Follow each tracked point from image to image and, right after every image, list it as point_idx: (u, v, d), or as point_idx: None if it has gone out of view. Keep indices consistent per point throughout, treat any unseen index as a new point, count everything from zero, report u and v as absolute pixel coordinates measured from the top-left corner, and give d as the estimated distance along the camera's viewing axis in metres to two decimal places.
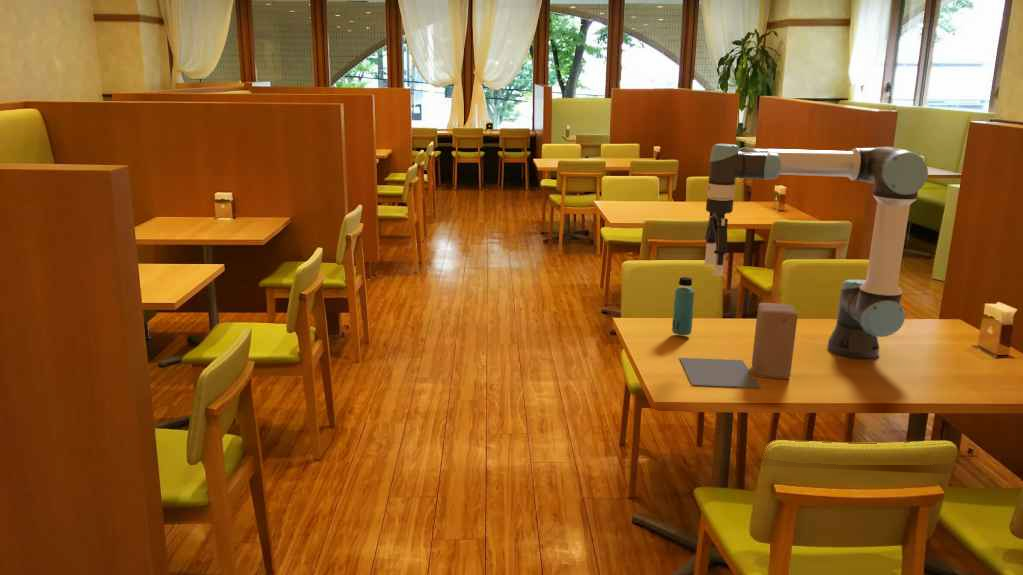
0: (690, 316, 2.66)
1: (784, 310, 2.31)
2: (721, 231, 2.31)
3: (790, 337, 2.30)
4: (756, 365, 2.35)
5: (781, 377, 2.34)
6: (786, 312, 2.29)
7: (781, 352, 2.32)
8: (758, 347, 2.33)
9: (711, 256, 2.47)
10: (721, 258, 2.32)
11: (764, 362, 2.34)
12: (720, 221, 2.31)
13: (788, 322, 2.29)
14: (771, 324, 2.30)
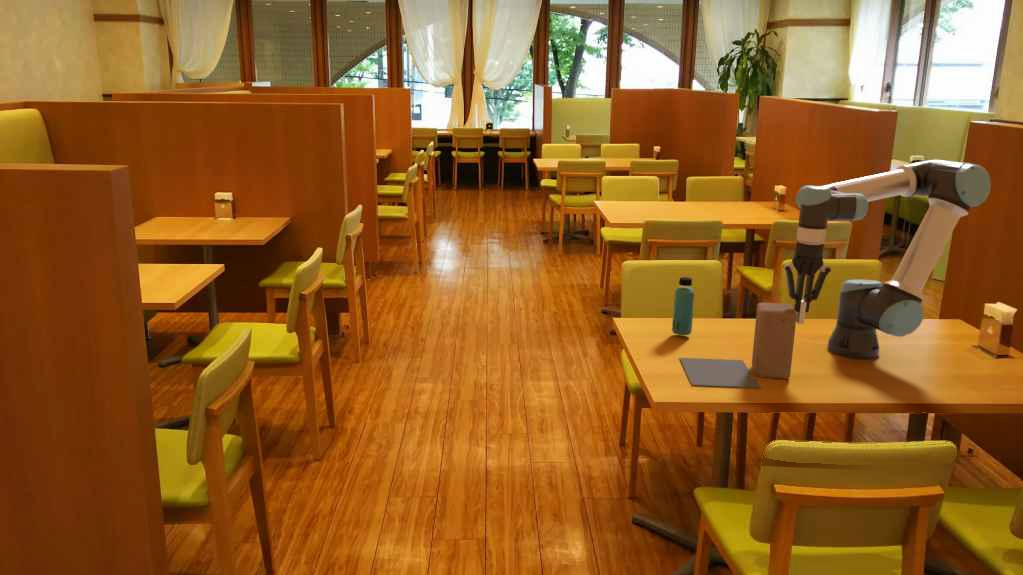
0: (690, 316, 2.66)
1: (783, 309, 2.31)
2: (787, 278, 2.32)
3: (789, 337, 2.30)
4: (756, 365, 2.35)
5: (781, 377, 2.34)
6: (785, 312, 2.29)
7: (780, 351, 2.32)
8: (758, 347, 2.33)
9: None
10: (795, 304, 2.33)
11: (763, 362, 2.34)
12: (784, 268, 2.32)
13: (787, 321, 2.29)
14: (770, 324, 2.30)
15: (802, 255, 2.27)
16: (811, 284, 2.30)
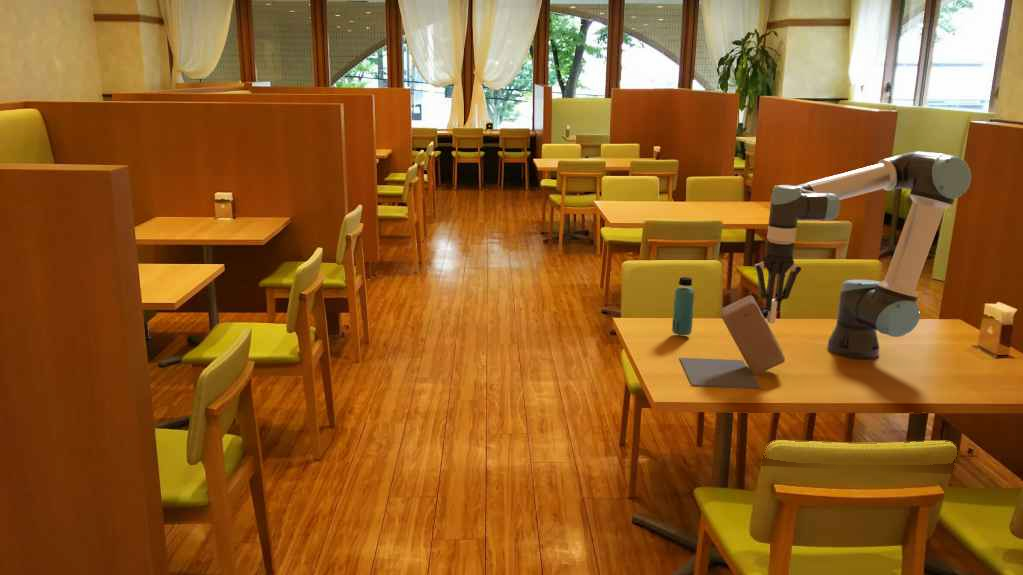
0: (690, 316, 2.66)
1: (742, 305, 2.33)
2: (758, 277, 2.32)
3: (760, 326, 2.31)
4: (749, 365, 2.35)
5: (777, 364, 2.33)
6: (743, 307, 2.31)
7: (762, 342, 2.32)
8: (740, 349, 2.34)
9: None
10: (766, 303, 2.33)
11: (753, 360, 2.34)
12: (755, 267, 2.32)
13: (750, 313, 2.31)
14: (737, 324, 2.32)
15: (772, 254, 2.27)
16: (782, 283, 2.31)
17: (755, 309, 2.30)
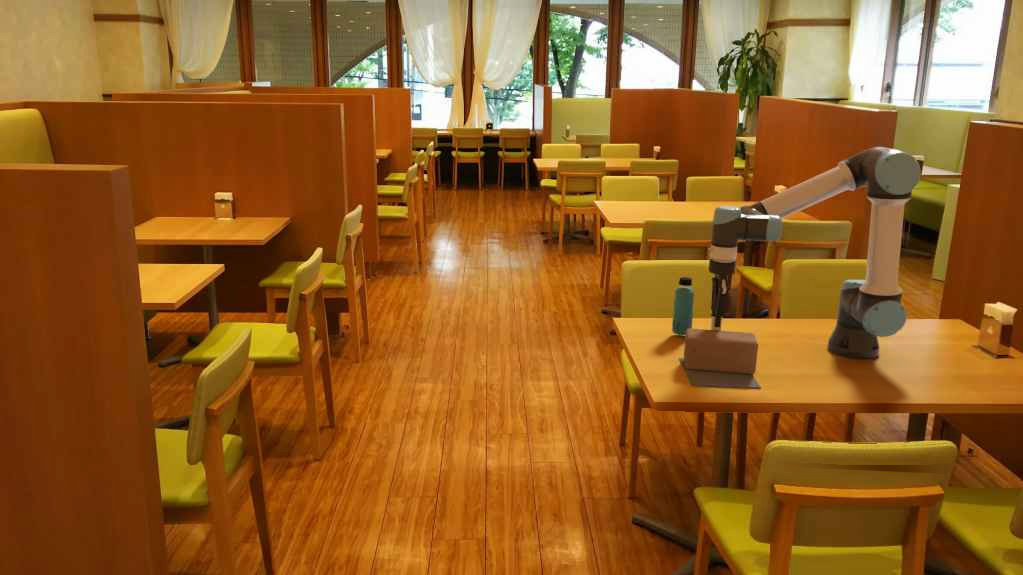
0: (690, 316, 2.66)
1: None
2: (721, 299, 2.37)
3: (712, 344, 2.35)
4: (742, 373, 2.36)
5: (755, 350, 2.33)
6: (687, 347, 2.37)
7: (728, 351, 2.35)
8: (723, 371, 2.37)
9: None
10: (718, 321, 2.42)
11: (739, 366, 2.35)
12: (721, 291, 2.35)
13: (696, 345, 2.36)
14: (698, 360, 2.37)
15: (732, 273, 2.37)
16: None
17: (694, 339, 2.36)
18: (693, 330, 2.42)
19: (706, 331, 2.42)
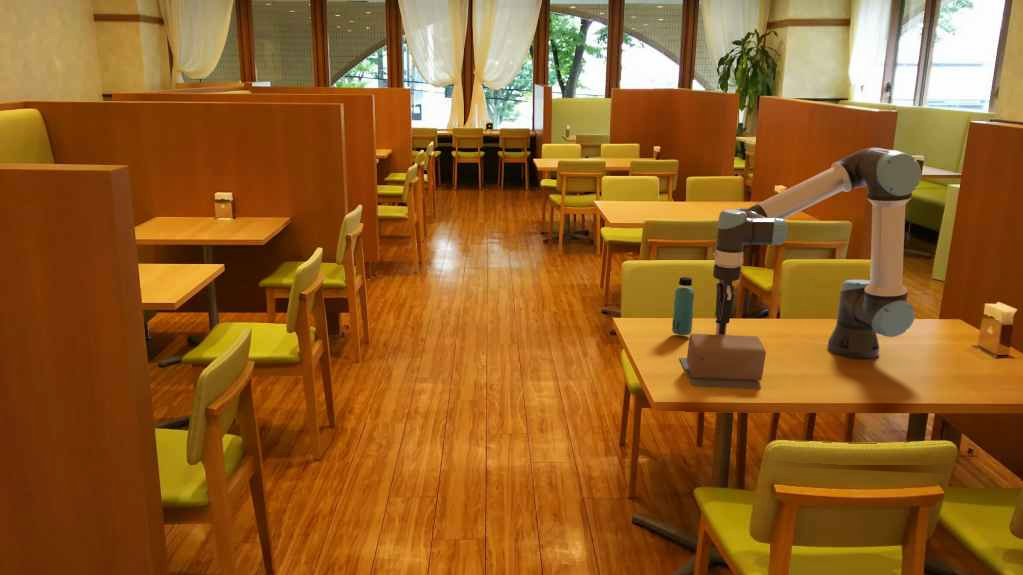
0: (690, 316, 2.66)
1: (692, 354, 2.31)
2: (725, 305, 2.30)
3: (719, 353, 2.28)
4: (749, 379, 2.31)
5: (763, 358, 2.28)
6: (694, 357, 2.29)
7: (735, 359, 2.28)
8: (730, 379, 2.31)
9: None
10: (723, 328, 2.35)
11: (746, 374, 2.30)
12: (726, 297, 2.29)
13: (703, 355, 2.28)
14: (705, 369, 2.30)
15: (737, 278, 2.31)
16: None
17: (702, 349, 2.28)
18: (698, 336, 2.34)
19: (711, 337, 2.34)
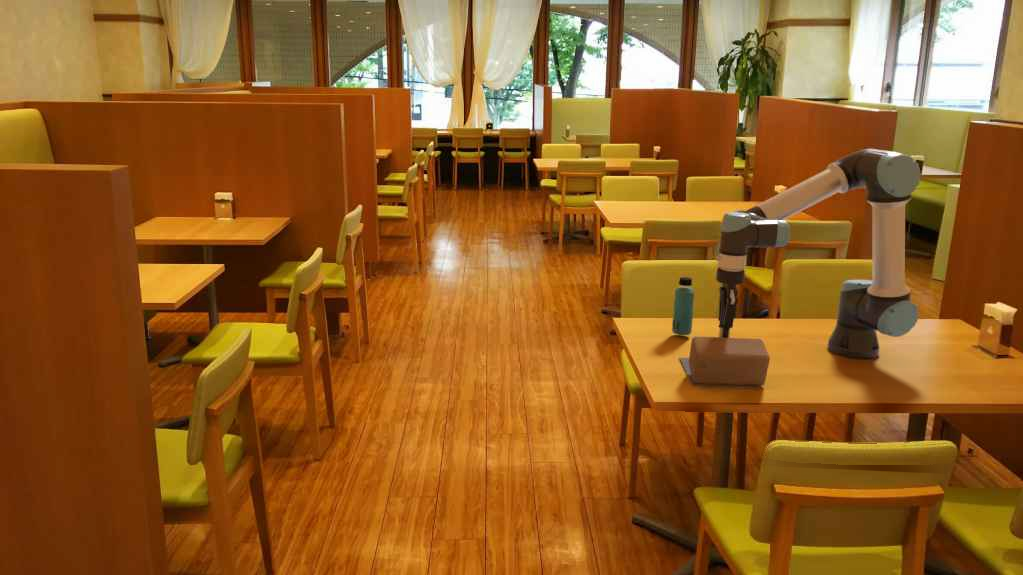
0: (690, 316, 2.66)
1: (694, 360, 2.27)
2: (729, 310, 2.26)
3: (723, 360, 2.23)
4: (752, 384, 2.28)
5: (767, 364, 2.24)
6: (696, 363, 2.25)
7: (738, 366, 2.24)
8: (732, 384, 2.28)
9: None
10: (726, 332, 2.31)
11: (749, 379, 2.26)
12: (730, 301, 2.24)
13: (706, 362, 2.24)
14: (708, 375, 2.26)
15: (741, 282, 2.26)
16: None
17: (704, 356, 2.23)
18: (700, 340, 2.29)
19: (714, 341, 2.29)
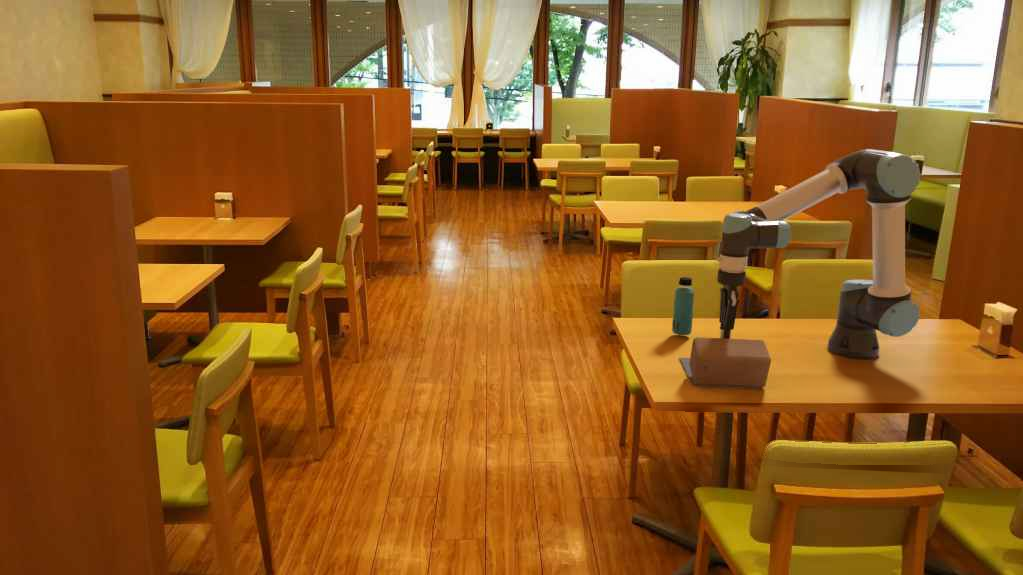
0: (690, 316, 2.66)
1: (695, 361, 2.26)
2: (730, 311, 2.25)
3: (723, 362, 2.22)
4: (753, 386, 2.27)
5: (768, 366, 2.23)
6: (697, 365, 2.24)
7: (739, 368, 2.23)
8: (733, 385, 2.27)
9: None
10: (727, 334, 2.30)
11: (750, 381, 2.25)
12: (731, 303, 2.23)
13: (706, 364, 2.23)
14: (708, 377, 2.25)
15: (742, 284, 2.25)
16: None
17: (705, 358, 2.22)
18: (701, 341, 2.28)
19: (715, 342, 2.28)
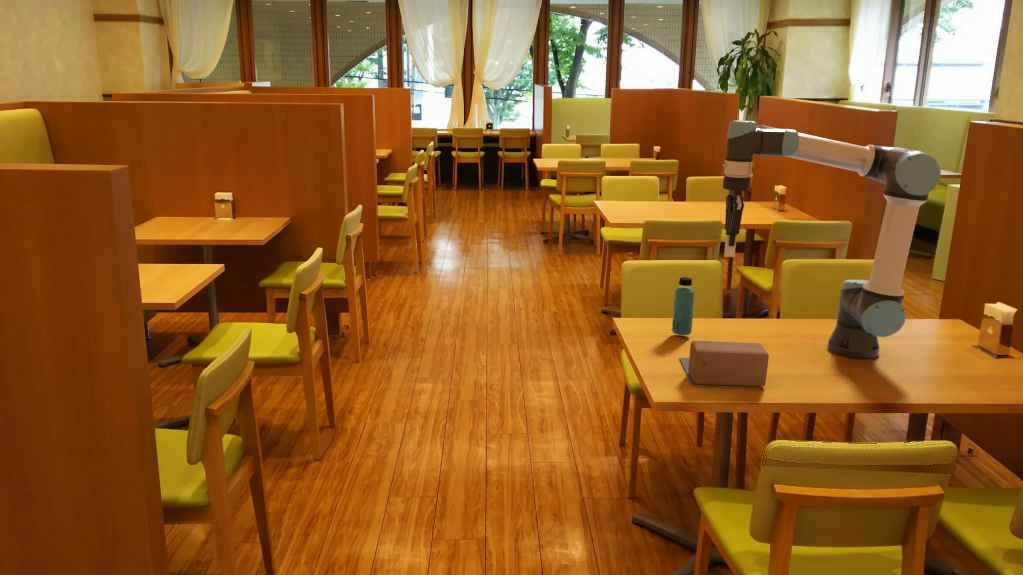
0: (690, 316, 2.66)
1: (693, 359, 2.28)
2: (735, 215, 2.32)
3: (722, 356, 2.24)
4: (753, 385, 2.27)
5: (766, 362, 2.24)
6: (696, 361, 2.26)
7: (738, 364, 2.25)
8: (733, 384, 2.27)
9: None
10: (733, 239, 2.37)
11: (750, 379, 2.26)
12: (736, 206, 2.30)
13: (705, 359, 2.25)
14: (708, 374, 2.26)
15: (747, 189, 2.32)
16: None
17: (704, 353, 2.25)
18: (699, 342, 2.31)
19: (712, 343, 2.31)
